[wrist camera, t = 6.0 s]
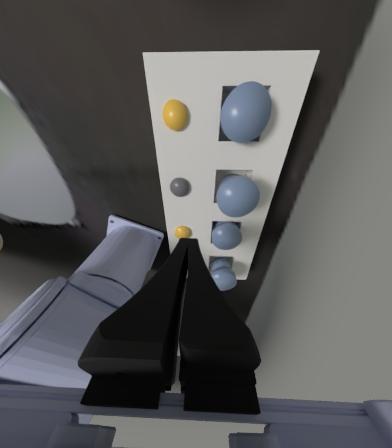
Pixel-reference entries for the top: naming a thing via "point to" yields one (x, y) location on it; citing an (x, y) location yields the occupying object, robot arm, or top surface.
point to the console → (220, 138)
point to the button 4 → (246, 112)
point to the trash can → (1, 241)
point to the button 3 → (237, 195)
